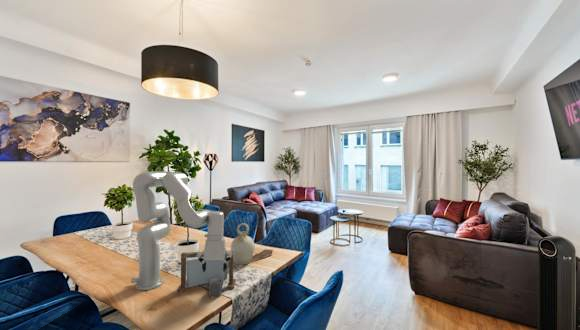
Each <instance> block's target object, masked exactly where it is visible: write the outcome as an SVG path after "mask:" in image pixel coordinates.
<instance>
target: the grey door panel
mask: <svg viewBox="0 0 580 330" xmlns="http://www.w3.org/2000/svg"><path fill="white" fill-rule="evenodd" d="M225 257H226V258H228V257H229V256H225ZM202 258H203V259H204V257H202ZM223 264H224V262H223V260H222V261H206V270H205V272H203V270H202V263H201V262H200V261H199V259H198V257H194V258H189V259H186V282H187V286H186V289H188V288H192V287H196V286H200V285H203V284H204V285H205V284H210V281H211V278H219V277H224V279H227V278H228V268H227V269H225V271H223ZM227 267H229V261H228V262H227Z"/></svg>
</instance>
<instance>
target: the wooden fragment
mask: <svg viewBox="0 0 580 330" xmlns="http://www.w3.org/2000/svg"><path fill="white" fill-rule="evenodd" d="M273 251H274V249H263V250H262V251H260V252H259V253H254V254H253V258H252V261H251V262H250V263H251V264H252V263H254V262H258V261H259V260H262V259H264V258H267V257H271V256H272V254H273Z"/></svg>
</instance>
